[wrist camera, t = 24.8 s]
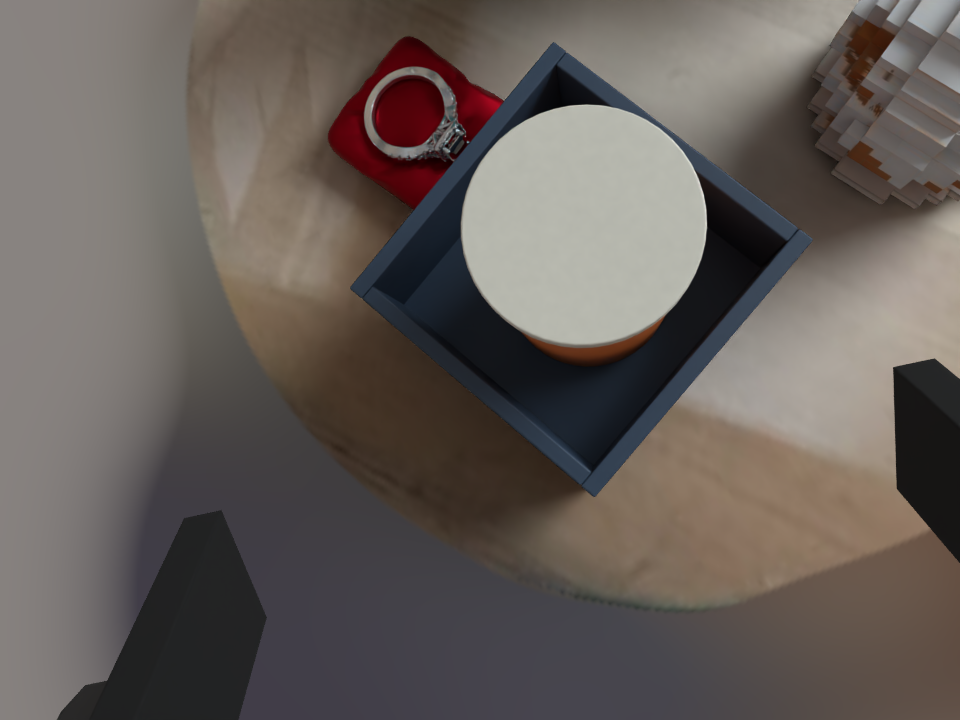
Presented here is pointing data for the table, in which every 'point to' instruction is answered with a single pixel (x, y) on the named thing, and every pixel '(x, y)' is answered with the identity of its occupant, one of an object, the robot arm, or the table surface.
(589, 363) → the container
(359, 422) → the table surface
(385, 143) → the engagement ring
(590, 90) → the open box
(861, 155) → the decorative ornament
